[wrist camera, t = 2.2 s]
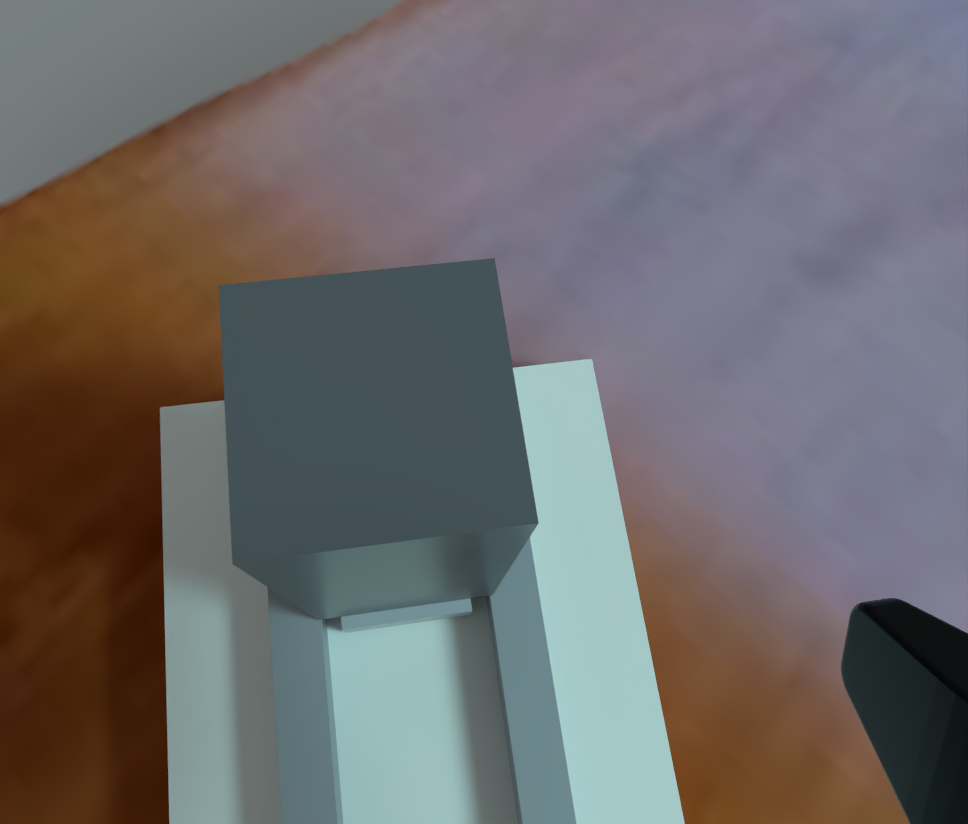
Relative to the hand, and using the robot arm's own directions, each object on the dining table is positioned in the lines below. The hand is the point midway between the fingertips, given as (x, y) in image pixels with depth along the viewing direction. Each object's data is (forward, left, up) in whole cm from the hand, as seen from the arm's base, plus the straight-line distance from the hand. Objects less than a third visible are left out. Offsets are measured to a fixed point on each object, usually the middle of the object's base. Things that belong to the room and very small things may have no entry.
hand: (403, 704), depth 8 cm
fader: (+3, +1, -10) cm, 10 cm away
